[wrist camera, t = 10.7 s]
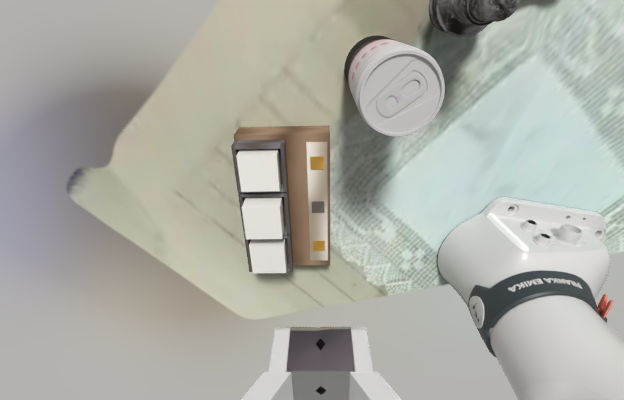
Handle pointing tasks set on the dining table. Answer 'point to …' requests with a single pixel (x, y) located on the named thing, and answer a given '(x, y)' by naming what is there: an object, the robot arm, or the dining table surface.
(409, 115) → the beverage can
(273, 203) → the button middle
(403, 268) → the dining table surface
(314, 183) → the button board
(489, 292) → the robot arm
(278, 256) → the button far
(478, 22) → the grey tiered upright piece
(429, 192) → the dining table surface
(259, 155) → the button near
